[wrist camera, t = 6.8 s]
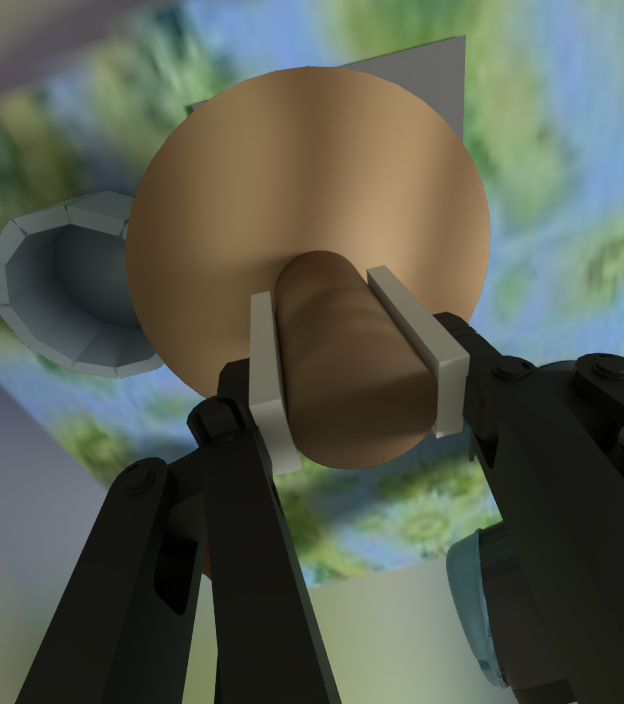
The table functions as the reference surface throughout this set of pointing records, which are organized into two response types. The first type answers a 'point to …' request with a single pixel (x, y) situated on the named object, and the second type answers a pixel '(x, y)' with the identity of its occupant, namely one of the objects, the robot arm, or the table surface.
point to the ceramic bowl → (74, 286)
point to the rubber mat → (424, 76)
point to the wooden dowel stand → (311, 249)
